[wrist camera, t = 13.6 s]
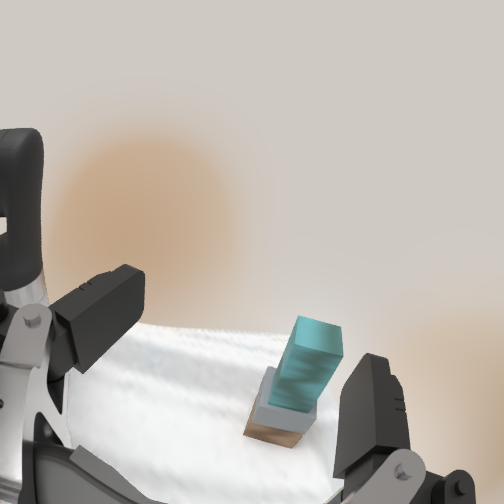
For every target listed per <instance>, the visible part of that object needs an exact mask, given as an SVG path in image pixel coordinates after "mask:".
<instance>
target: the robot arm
mask: <svg viewBox="0 0 504 504" xmlns="http://www.w3.org/2000/svg"><path fill="white" fill-rule="evenodd" d="M43 164H44V149H43V141H42V137H41V135H40V133H39V132H38V131H37V130H36V129H33V128H16V129H3V130H0V217H6V218H7V232H5V233H3V234H2V235H0V504H166V503H162V502H158V501H154V500H151V499H149V498H147V497H146V496H144V495H143V494H142V493H141V492H140V491H138V490H137V489H136V488H135V487H134V486H133V485H131V484H130V483H129V482H128V481H127V480H126V479H125V478H124V477H123V476H121V475H120V474H119V473H118V472H117V471H116V470H115V469H114V468H113V467H111V466H110V465H108V464H107V463H105V462H103V461H102V460H100V459H99V458H97V457H96V456H95V455H93V454H92V453H90V452H89V451H87V450H86V449H85V448H83V447H82V446H81V445H79V446H78V447H77V449H76V450H73V449H72V441H71V436H70V431H69V428H68V424H67V399H68V382H69V373H68V371H69V370H70V369H71V368H72V367H74V368H75V369H77V370H78V371H79V372H81V373H82V374H84V373H85V372H86V371H87V370H88V369H89V368H90V367H91V366H92V365H93V364H94V363H95V362H96V361H97V360H98V359H99V358H100V357H101V356H102V355H103V354H104V353H105V352H106V351H107V350H108V349H109V348H110V347H111V346H112V345H113V344H114V343H115V342H117V341H118V340H119V339H120V338H121V337H122V336H123V335H124V334H125V333H126V332H127V331H128V330H129V329H130V328H131V327H132V326H133V325H134V324H135V323H136V322H137V321H138V320H139V319H140V317H141V315H142V313H143V310H144V293H145V274H144V272H143V271H141V270H139V269H136V268H134V267H132V266H130V265H127V264H124V265H122V266H120V267H119V268H117V269H115V270H114V271H112V272H111V271H109V272H106V273H102V274H99V275H96V276H95V277H93V278H91V279H90V280H89V281H87V283H83V284H82V285H80V286H79V288H76V289H74V290H73V291H71V292H70V293H68V294H67V295H65V296H64V297H62V298H61V299H59V300H58V301H56V302H55V303H53V304H52V305H49V300H48V294H47V289H46V284H45V277H44V271H43V262H42V252H41V189H42V178H43ZM405 410H406V408H405V402H404V395H403V389H402V386H401V385H400V383H399V381H398V379H397V378H396V376H395V375H391V373H390V367H389V362H388V359H387V358H384V357H380V356H377V355H373V354H370V353H366V354H365V355H364V356H363V358H362V359H361V361H360V362H359V364H358V365H357V366H356V368H355V369H354V371H353V372H352V374H351V375H350V377H349V378H348V380H347V381H346V383H345V384H344V387H343V389H342V392H341V396H340V408H339V423H338V435H337V446H336V455H335V464H334V472H333V478H338V479H345V480H344V487H342V488H341V489H339V490H338V491H337V492H336V493H335V494H334V495H333V496H331V497H330V498H329V499H328V500H327V501H326V502H325V503H323V504H476V498H475V485H474V481H473V479H472V477H471V476H470V475H469V474H468V473H467V472H466V471H464V470H455V471H453V472H452V473H450V474H449V475H447V476H446V477H442V476H440V475H437V474H434V473H431V472H428V471H426V469H425V464H424V462H423V460H422V459H421V457H420V456H419V455H418V454H417V453H415V452H413V451H411V449H410V439H409V430H408V422H407V415H406V412H405Z"/></svg>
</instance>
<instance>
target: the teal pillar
mask: <svg viewBox="0 0 504 504" xmlns="http://www.w3.org/2000/svg"><path fill="white" fill-rule="evenodd" d="M342 358H343V344H342V332H341V327H339V326H336V325H332V324H328V323H324V322H320V321H317V320H313V319H310V318H306V317H302V316H298V318H297V320H296V323H295V326H294V328H293V331H292V333H291V336H290V338H289V341H288V343H287V346H286V348H285V351H284V353H283V356H282V358H281V360H280V363H279V365H278V368H277V370H276V372H275V375H274V378H273V383H272V387H271V391H270V396H269V400H268V404H270V405H274V406H278V407H282V408H286V409H290V410H294V411H299V412H303V413H309V411H310V410H311V408H312V407H313V405H314V404H315V402H316V401H317V399H318V398H319V396H320V395H321V393H322V391H323V390H324V388H325V387H326V385H327V383H328V382H329V380H330V378H331V377H332V375H333V374H334V372H335V370H336V368H337V367H338V365H339V363H340V362H341V360H342Z"/></svg>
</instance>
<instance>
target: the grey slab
mask: <svg viewBox="0 0 504 504" xmlns="http://www.w3.org/2000/svg"><path fill="white" fill-rule="evenodd" d="M276 370H277V368H273V367H269V366H268V368H267V370H266V373H265V375H264V377H263V380H262V382H261V385H260V389H259V393H258V397H257V401H256V405H255V409H254V413H253V417H252V421H251V422H252V423H256V424H259V425H263V426H268V427H272V428H276V429H281V430H285V431H290V432H295V433H300V434H305V432H306V431H307V430H308V429H309V427H310V426H311V425H312V424H313V422H314V421H315V420H316V412H317V401H316V402H315V404H314V405H313V407H312V408H311V410H310V411H309V413H303V412H299V411H294V410H290V409H286V408H282V407H278V406H274V405H270V404H268V400H269V396H270V391H271V387H272V383H273V378H274V375H275V372H276Z"/></svg>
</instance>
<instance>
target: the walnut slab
mask: <svg viewBox="0 0 504 504" xmlns="http://www.w3.org/2000/svg"><path fill="white" fill-rule="evenodd" d="M257 397H258V395H257ZM257 397H256V400H255V403H254V405H253V408H252V411H251V414H250V417H249V420H248V422H247V425H246V428H245V431H244V433H243V435H245V436H249V437H252V438H255V439H258V440H262V441H265V442H269V443H272V444H276V445H280V446H284V447H288V448H292V447H293V446H294V445H295V444H296V443H297V442H298V440H299V439H300V438H301V437H302V434H300V433H295V432H290V431H285V430H281V429H276V428H272V427H268V426H263V425H259V424H256V423H252V422H251V421H252V417H253V413H254V409H255V405H256V401H257Z"/></svg>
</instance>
